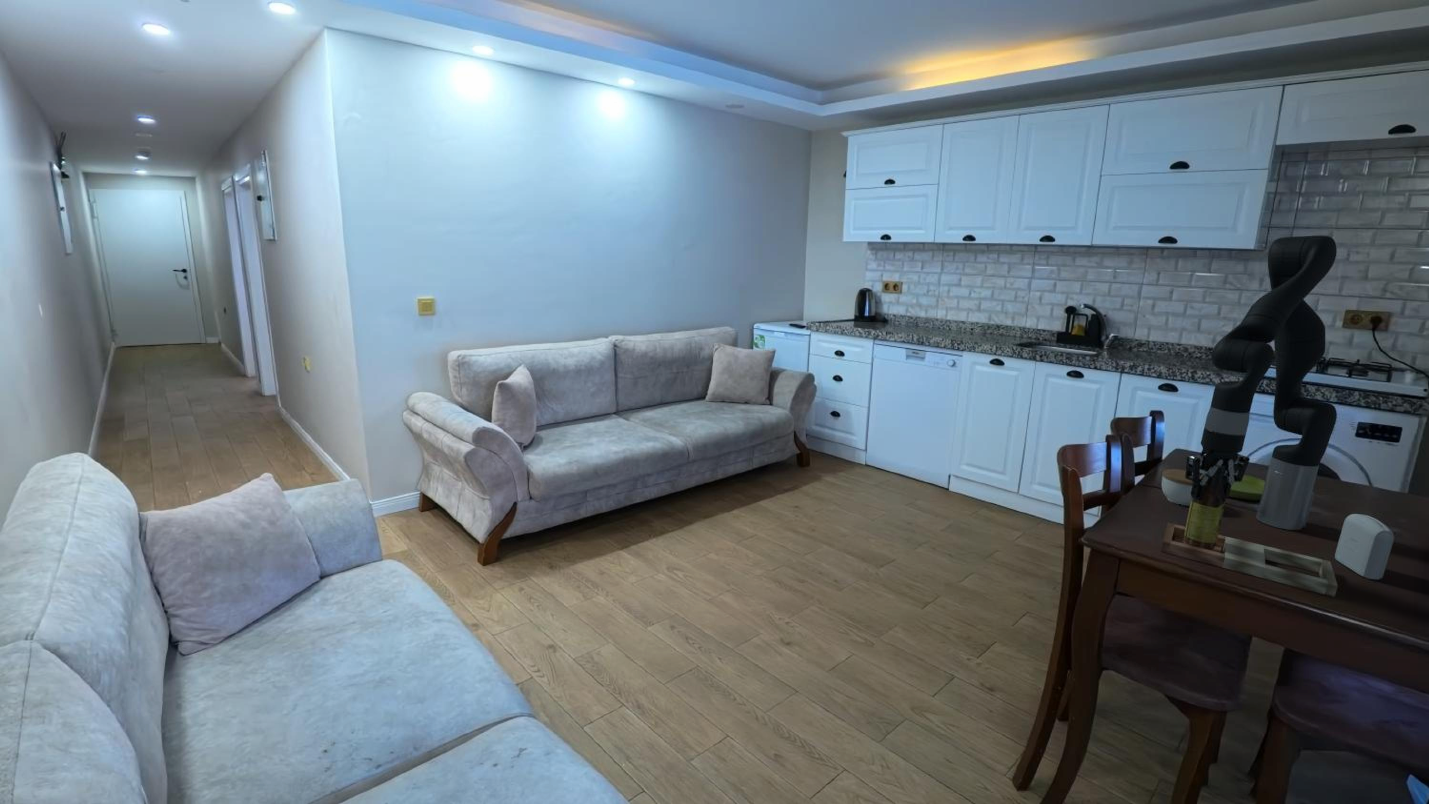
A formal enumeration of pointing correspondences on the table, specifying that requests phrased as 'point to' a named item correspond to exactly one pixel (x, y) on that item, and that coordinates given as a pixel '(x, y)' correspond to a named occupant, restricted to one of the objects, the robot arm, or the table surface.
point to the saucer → (1247, 488)
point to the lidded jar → (1177, 486)
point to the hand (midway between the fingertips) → (1208, 498)
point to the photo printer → (1364, 545)
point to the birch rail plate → (1254, 560)
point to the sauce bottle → (1206, 513)
